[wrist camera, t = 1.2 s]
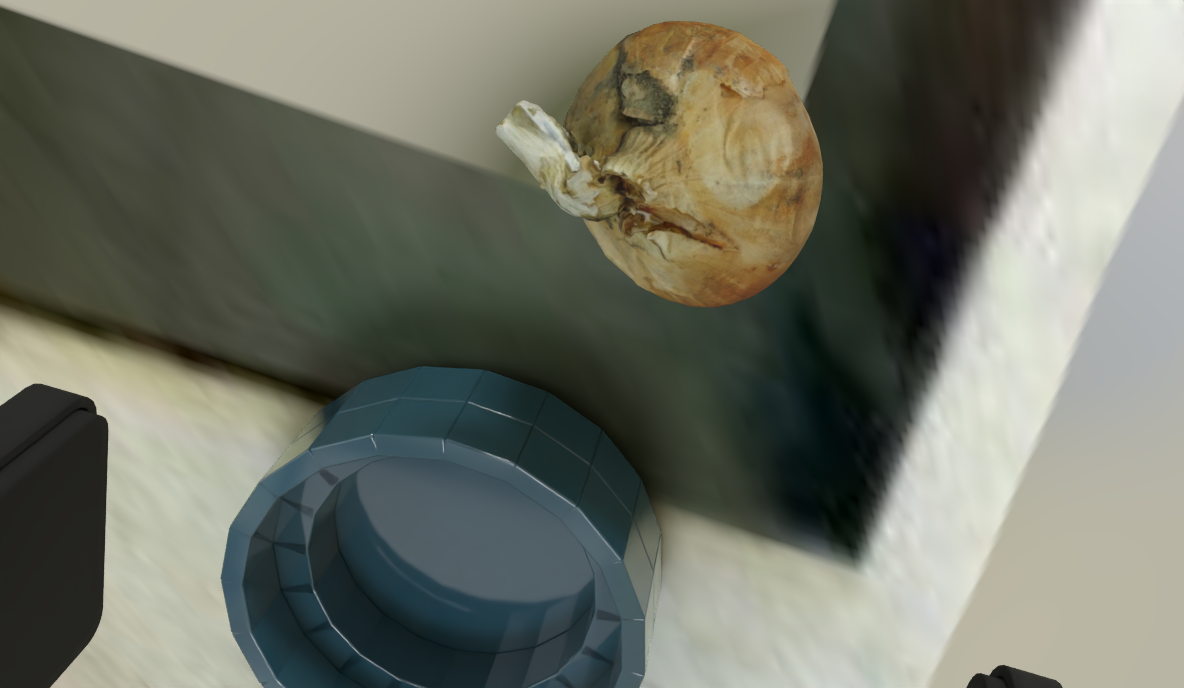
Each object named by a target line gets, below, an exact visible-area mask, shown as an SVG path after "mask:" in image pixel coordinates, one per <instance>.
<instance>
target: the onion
mask: <svg viewBox="0 0 1184 688" xmlns="http://www.w3.org/2000/svg"><path fill="white" fill-rule="evenodd" d="M495 131H496V134H497V135H498V136H499V137H500V138H501V139H502V140H503V141H504V143H505V144H506V145H507V146H508V147H509V148H510V149H511V150H512V151H513V152H514V153H515V154H516V155H517V156H518V157H519V158H520V159H521V160H522V161H523V162H524V164H525V165H526V166H527V168H528V169H529V170H530V172H531V173H532V174H533V176H534V177H536V179H537V180H538V181H539V184H540V187H541V188H543V189H545V190H547V191H548V193H549V194H550V196H551V197H552V199H553V200H554V201H555V202H556V203H557V204H558V205H559V207H560V208H561V209H562V210H564V211H566V212H567V213H569V214H571V215H572V216H578V217H582V218H583V220H584V222H585V225H586V227H587V228H588V230H589V231H590V232H591V234H592V235H593V236H594V237H595V239H596V241H597V242H598V244H599V245H600V247H601V248H602V250H603V252H604V254H605V256H606V257H607V258H609V259H610V260H611V261H612V262H613V263H614V264H615V265H616V266H617V267H619V268H620V269H621V270H622V271H623V272H624V273H626V274H627V275H628V276H629V277H630V278H631V279H632V280H633V281H634V282H635V283H636V284H637V285H638V286H640V287H642V288H644V289H646V290H648V291H650V292H652V293H654V294H656V295H658V296H660V297H662V298H664V299H667V300H670V301H674V302H677V303H681V304H685V305H689V306H692V307H719V306H724V305H729V304H733V303H736V302H738V301H741V300H744V299H747V298H750V297H752V296H754V295H756V294H757V293H759V292H760V291H762V290H763V289H765V288H766V287H768V286H769V285H770V284H772V283H773V282H774V281H775V280H776V279H778V278H779V277H780V276H781V275H782V274H783V273H784V272H785V271H786V270H787V269H788V267H789V266H790V265H791V264H792V262H793V261H794V260H795V259H796V257H797V256H798V254H799V252H800V251H801V249H802V248H803V246H804V244H805V242H806V241H807V239H808V237H809V235H810V233H811V231H812V229H813V226H814V223H815V220H816V216H817V212H818V208H819V204H820V199H821V192H822V181H823V171H822V168H823V164H822V158H821V152H820V146H819V143H818V139H817V136H816V134H815V131H814V128H813V126H812V123H811V120H810V117H809V115H808V113H807V111H806V109H805V107H804V105H803V103H802V101H801V99H800V96H799V94H798V92H797V90H796V88H795V86H794V85H793V83H792V81H791V80H790V78H789V72H788V69H787V68H786V67H784V65H783V64H782V63H781V62H780V61H779V60H778V59H777V58H776V57H775V56H773V55H772V54H771V53H769V52H768V51H767V50H765V49H763V48H762V47H761V46H759V45H757V44H756V43H754V42H753V41H751V40H750V39H748V38H747V37H745V36H744V35H742V34H741V33H739V32H735V31H732V30H729V29H726V28H723V27H719V26H716V25H713V24H706V23H699V22H689V21H688V22H686V21H671V22H670V21H669V22H663V23H660V24H654V25H651V26H649V27H647V28H645V29H643V30H641V31H638V32H635V33H633V34H630V35H627V36H626V37H625V38H624V39H623V40H622V41H621V42H620V43H618V44H617V45H616V46H615V47H614V48H613V49H612V50H611V51H610V52H609V53H608V54H607V55H606V56H605V58H603V60H602V61H601V62H600V63H599V64H598V65H597V67H595V69H594V70H593V71H592V72H591V73H590V74H589V75H588V76H587V78H586V79H585V81H584V83H583V84H582V86H581V87H580V88H579V91H578V93H577V95H576V97H575V99H574V101H573V103H572V105H571V107H570V109H569V111H568V112H567V115H566V117H565V120H564V123H563V127H562V126H561V125H559V124H558V123H557V121H556V120H555V119H554V118H553V117H551V116H548V115H547V114H546V113H545V112H544V111H543V110H542V109H541V108H540V107H539V106H538V105H535V104H531V103H529V102H527V101H524V100H523V101H521V102H519V103H517V104H516V105H515V106H514V108H513V109H512V110H511V111H510V113H509V114H508V115H507V116H506V118H505V119H504V120H503V121H502V122H501V123H500V124H499V125H498V126H497V127H496V128H495Z"/></svg>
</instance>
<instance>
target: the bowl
mask: <svg viewBox="0 0 1184 688" xmlns="http://www.w3.org/2000/svg"><path fill="white" fill-rule="evenodd" d="M660 532H661V530H660V528H659V525H658V522H657V519H656V517H655V514H654V511H653V509H652V506H651V503H650V500H649V498H648V495H647V492H646V490H645V487H644V484H643V482H642V480H641V478H640V476H639V475H638V474H637V472H636V471H635V470H634V469H633V467H632V466H631V465H630V464H629V462H628V461H627V460H626V459H625V457H624V456H623V455H622V454H621V452H620V451H619V450H618V449H617V447H616V446H615V445H614V444H613V442H612V441H611V440H610V439H609V437H608V436H607V435H606V434H605V432H604V431H602V430H601V428H600V427H598V426H597V425H595V424H594V423H592V422H591V421H589V420H588V419H587V418H585V417H584V416H582V415H581V414H579V413H578V412H577V411H575V410H574V409H572V408H571V407H569V406H568V405H567V404H565V403H564V402H562V401H561V400H559V399H558V398H557V397H555V396H554V395H552V394H551V393H547V391H545V390H542V389H539V388H536V387H533V386H530V385H528V384H525V383H522V382H519V381H516V380H513V379H510V378H508V377H505V376H502V375H499V374H496V373H493V372H490V371H488V370H486V371H485V370H481V369H463V368H445V367H427V366H423V367H415V368H412V369H408V370H404V371H400V372H396V373H392V374H388V375H384V376H380V377H376V378H373V379H369V380H365V381H364V382H361V383H359V384H358V385H356V386H355V387H353V388H352V389H350V390H349V391H347V392H346V393H344V394H343V395H342V396H340V397H339V398H337V399H336V400H334V401H333V402H331V403H330V404H328V405H327V406H325V407H324V408H322V409H321V410H319V412H318V413H317V414H316V415H315V416H314V417H313V418H312V419H311V421H310V422H309V423H308V424H307V425H306V427H305V428H304V429H303V430H302V431H301V433H300V434H299V435H298V436H297V437H296V439H295V440H294V441H293V442H292V443H291V445H290V446H289V447H288V448H287V449H286V451H285V452H284V453H283V454H282V455H281V456H280V458H279V459H278V460H277V461H276V462H275V464H274V465H273V466H272V467H271V468H270V470H269V471H268V472H267V473H266V474H265V476H264V477H263V478H262V479H261V480H260V482H259V483H258V484H257V486H256V487H255V489H254V490H253V492H252V493H251V495H250V496H249V498H248V500H247V501H246V503H245V504H244V506H243V507H242V509H241V510H240V512H239V513H238V515H237V516H236V518H235V519H234V521H233V522H232V524H231V526H230V528H229V533H228V539H227V545H226V550H225V556H224V562H223V567H222V573H221V583H222V588H223V592H224V597H225V602H226V607H227V612H228V617H229V622H230V627H231V632H232V633H233V637H234V638H235V640H236V642H237V644H238V645H239V647H240V649H241V651H242V653H243V654H244V656H245V658H246V660H247V662H248V663H249V665H250V667H251V669H252V670H253V672H254V674H255V676H256V678H257V679H258V681H259V683H261V685H262V686H263V687H264V688H639V687H640V685H641V683H642V681H643V678H644V676H645V672H646V666H647V660H648V655H649V649H650V643H651V638H652V632H653V626H654V620H655V615H656V609H657V603H658V598H659V592H660V586H661V533H660Z"/></svg>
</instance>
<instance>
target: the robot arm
mask: <svg viewBox="0 0 1184 688" xmlns="http://www.w3.org/2000/svg"><path fill="white" fill-rule="evenodd" d="M107 458H108V423H107V421H106V418H104V417H103V416H100V415H97V412H96V406H95V404H94V402H93V401H92V400H91V399H89V398H88V397H84V396H81V395H78V394H74V393H71V392H67V391H64V390H60V389H57V388H54V387H50V386H47V385H43V384H33V385H31V386H29V387H27V388H25V389H24V390H22V391H21V392H19V393H18V394H17V395H15V396H14V397H12V398H11V399H9V400H8V401H7V402H5V403H4V404H2V405H1V406H0V688H50V687H51V686H52V685H53V683H54V682H55V681H56V680H57V679H58V678H59V677H60V675H61V674H62V673H63V672H64V671H65V670H66V669H67V667H68V666H69V665H70V664H71V663H72V662H73V661H74V660H75V658H76V657H77V656H78V655H79V654H80V653H81V652H82V650H83V649H84V648H85V647H86V646H87V645H88V643H89V642H90V641H91V639H92V637H93V636H94V634H95V632H96V630H97V628H98V625H99V623H100V620H101V616H102V611H103V589H104V556H105V524H106V491H107ZM967 688H1062V686H1061V684H1060V683H1059V682H1057V681H1056V680H1053V679H1049V678H1046V677H1043V676H1039V675H1036V674H1033V673H1029V672H1026V671H1022V670H1019V669H1016V668H1012V667H1009V666H1005V665H1000V666H998V667H996V668H995V669H994V670H993V671H992V673H991V674H990V676H988V675H985V674H981V673H979V674H976V675H975V676H973V677H972V679H971V680H970V682H969V684H968V686H967Z"/></svg>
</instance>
